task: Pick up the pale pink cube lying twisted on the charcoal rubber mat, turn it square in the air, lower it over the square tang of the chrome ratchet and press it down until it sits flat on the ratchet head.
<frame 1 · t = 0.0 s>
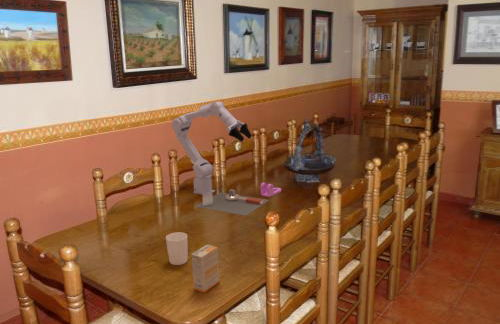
hand: (246, 138, 225), 32 cm above the table, tool tilted 50°, fingers open, 7 cm apart
white cup: (178, 261, 169), on the table
bracket: (272, 193, 242), on the table
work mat: (232, 203, 228), on the table
supplement box: (206, 286, 151), on the table
ratchet: (232, 199, 234), resting on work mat
pale pink cube: (208, 204, 227), resting on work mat
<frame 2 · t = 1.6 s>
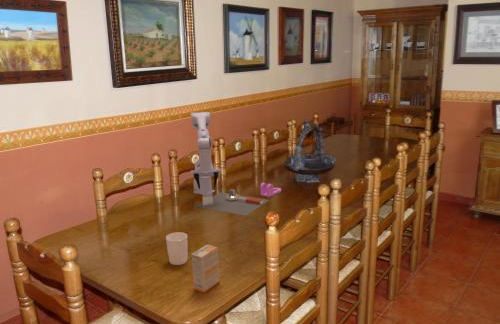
hand: (207, 187, 225), 9 cm above the table, tool pointing down, fingers open, 7 cm apart
nothing on the table moved.
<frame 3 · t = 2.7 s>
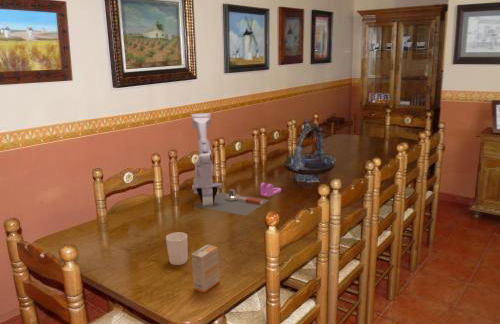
hand: (207, 201, 227), 2 cm above the table, tool pointing down, fingers closed on pale pink cube, 5 cm apart
pale pink cube: (208, 204, 227), resting on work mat, touching gripper
everything else where it was.
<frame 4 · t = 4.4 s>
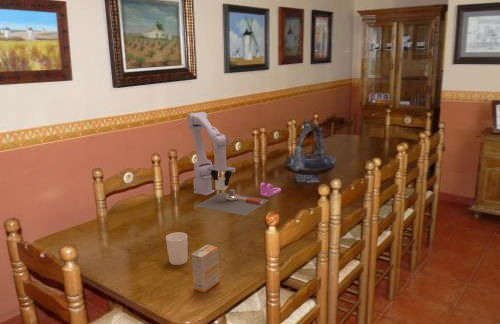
hand: (221, 185, 229), 9 cm above the table, tool pointing down, fingers closed on pale pink cube, 5 cm apart
pale pink cube: (221, 188, 229), point 7 cm above the table, touching gripper
everything else where it was.
when the fingers open (5 cm above the table, at t = 6.4 s): pale pink cube stays where it is, resting on ratchet.
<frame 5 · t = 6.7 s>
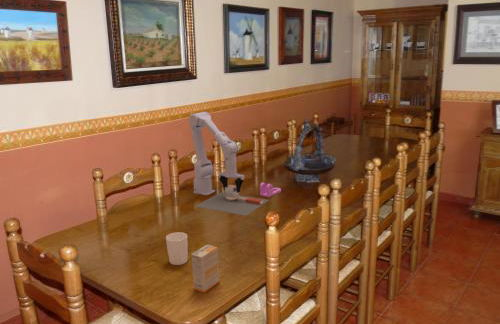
hand: (232, 191, 232), 5 cm above the table, tool pointing down, fingers open, 7 cm apart
ratchet: (232, 199, 234), resting on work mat, touching pale pink cube
pale pink cube: (232, 195, 233), point 2 cm above the table, touching ratchet
everything else where it was.
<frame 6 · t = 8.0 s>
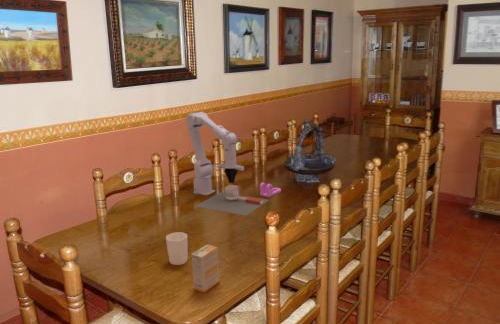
hand: (231, 182, 231), 9 cm above the table, tool pointing down, fingers closed
nothing on the table moved.
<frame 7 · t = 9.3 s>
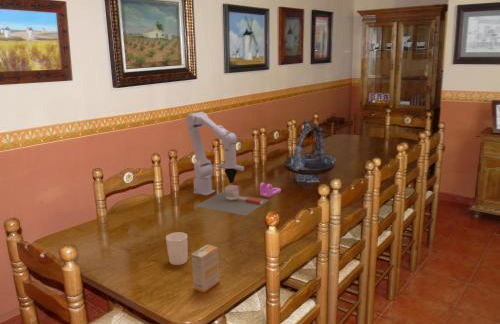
hand: (231, 182, 231), 9 cm above the table, tool pointing down, fingers closed
nothing on the table moved.
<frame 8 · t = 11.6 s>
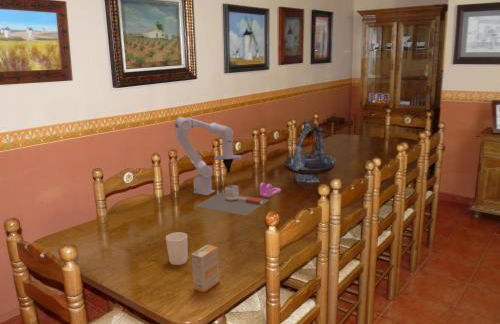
hand: (228, 172, 250), 9 cm above the table, tool pointing down, fingers closed
nothing on the table moved.
at the end: pale pink cube 0.2 cm off-centre on the ratchet, point 2.0 cm above the ratchet's base; pale pink cube tilted 0°; the gripper is holding nothing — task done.
